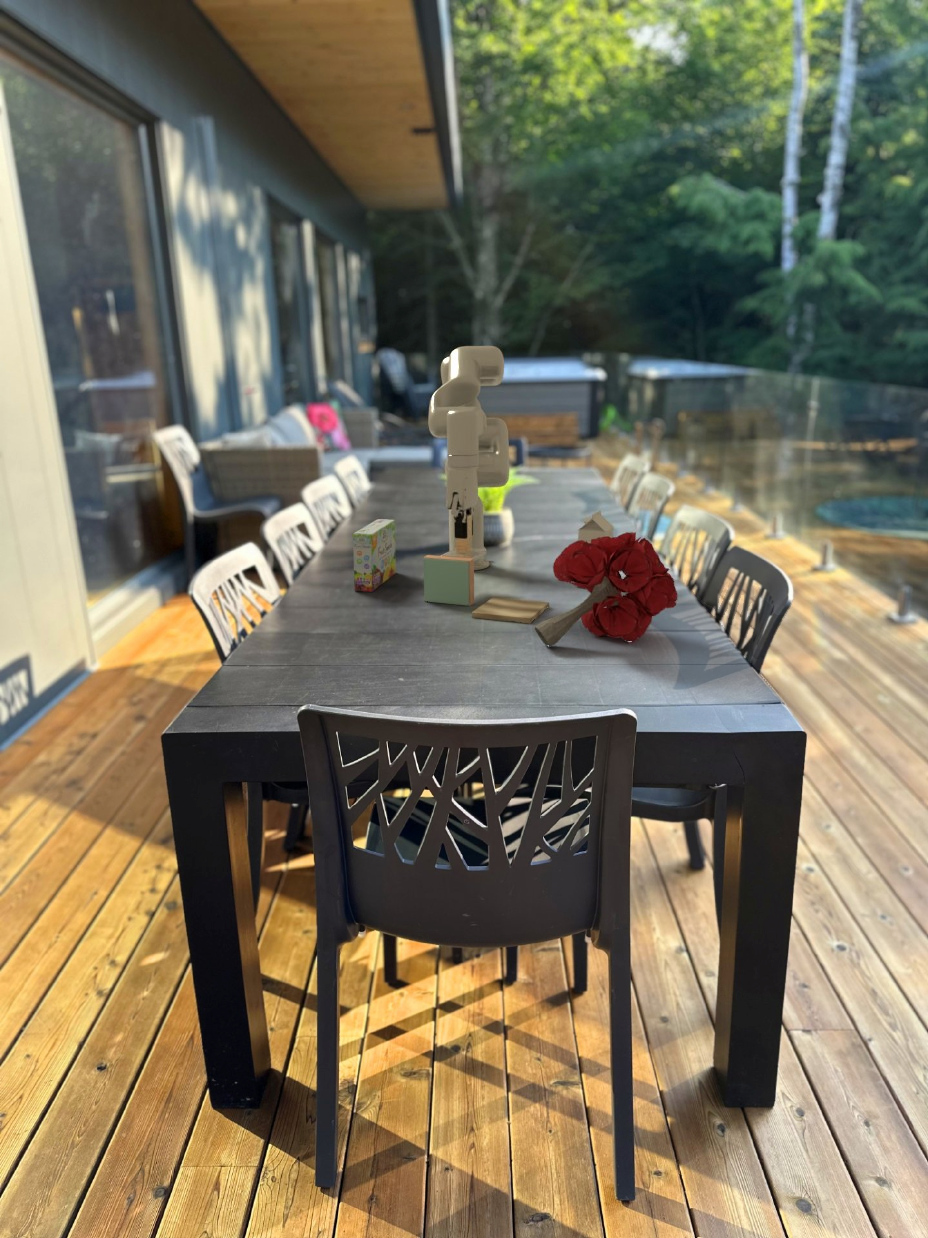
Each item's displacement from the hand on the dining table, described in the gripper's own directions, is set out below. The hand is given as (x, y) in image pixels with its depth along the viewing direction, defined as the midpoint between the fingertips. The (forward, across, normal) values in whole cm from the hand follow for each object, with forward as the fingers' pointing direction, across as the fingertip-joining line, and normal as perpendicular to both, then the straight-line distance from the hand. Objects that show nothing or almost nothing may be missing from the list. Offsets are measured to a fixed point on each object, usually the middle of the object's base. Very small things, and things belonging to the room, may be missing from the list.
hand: (463, 536), depth 223 cm
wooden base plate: (+14, +13, +17) cm, 26 cm away
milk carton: (+14, -17, +29) cm, 37 cm away
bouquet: (+15, +26, +42) cm, 51 cm away
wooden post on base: (+5, 0, 0) cm, 5 cm away
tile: (+14, +10, 0) cm, 18 cm away
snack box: (+15, -2, -26) cm, 30 cm away
